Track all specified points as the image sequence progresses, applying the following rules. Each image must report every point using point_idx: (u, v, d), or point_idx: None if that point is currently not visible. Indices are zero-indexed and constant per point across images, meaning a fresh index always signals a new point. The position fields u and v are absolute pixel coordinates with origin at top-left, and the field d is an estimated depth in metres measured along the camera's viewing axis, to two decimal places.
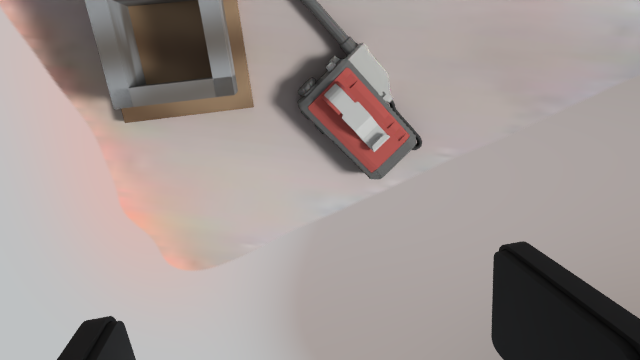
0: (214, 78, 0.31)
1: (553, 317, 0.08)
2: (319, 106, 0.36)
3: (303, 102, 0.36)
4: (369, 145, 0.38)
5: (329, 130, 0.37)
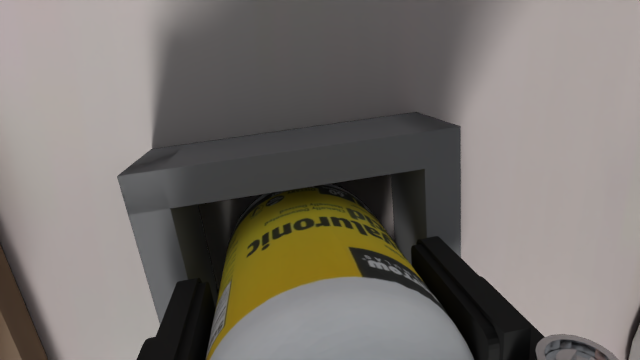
0: None
1: (446, 303, 0.08)
2: None
3: None
4: None
5: None
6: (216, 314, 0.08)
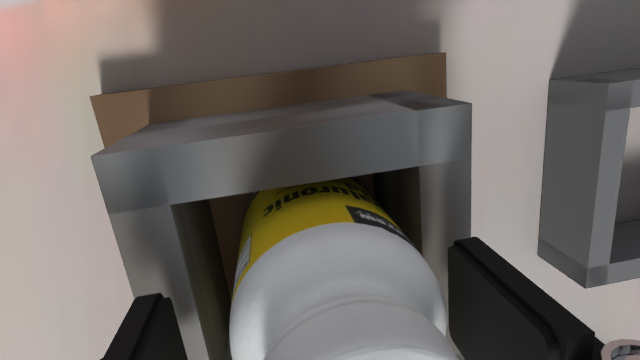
0: None
1: (492, 307, 0.08)
2: None
3: None
4: None
5: None
6: (240, 260, 0.10)
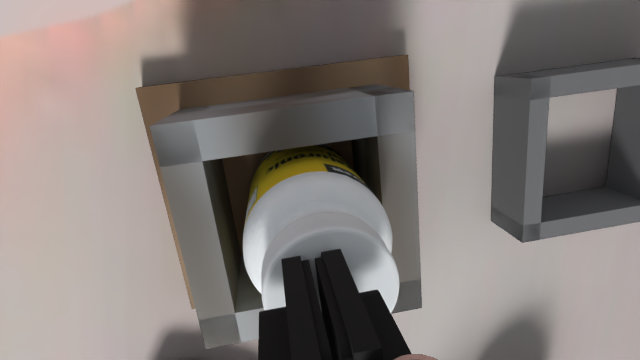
0: (235, 315, 0.16)
1: (329, 319, 0.08)
2: None
3: None
4: None
5: None
6: (249, 203, 0.15)
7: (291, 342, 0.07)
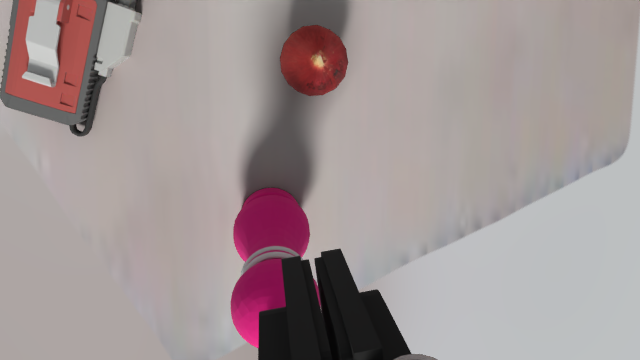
0: None
1: (328, 319, 0.08)
2: None
3: None
4: (29, 70, 0.31)
5: (17, 14, 0.30)
6: None
7: (291, 342, 0.07)
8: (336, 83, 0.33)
